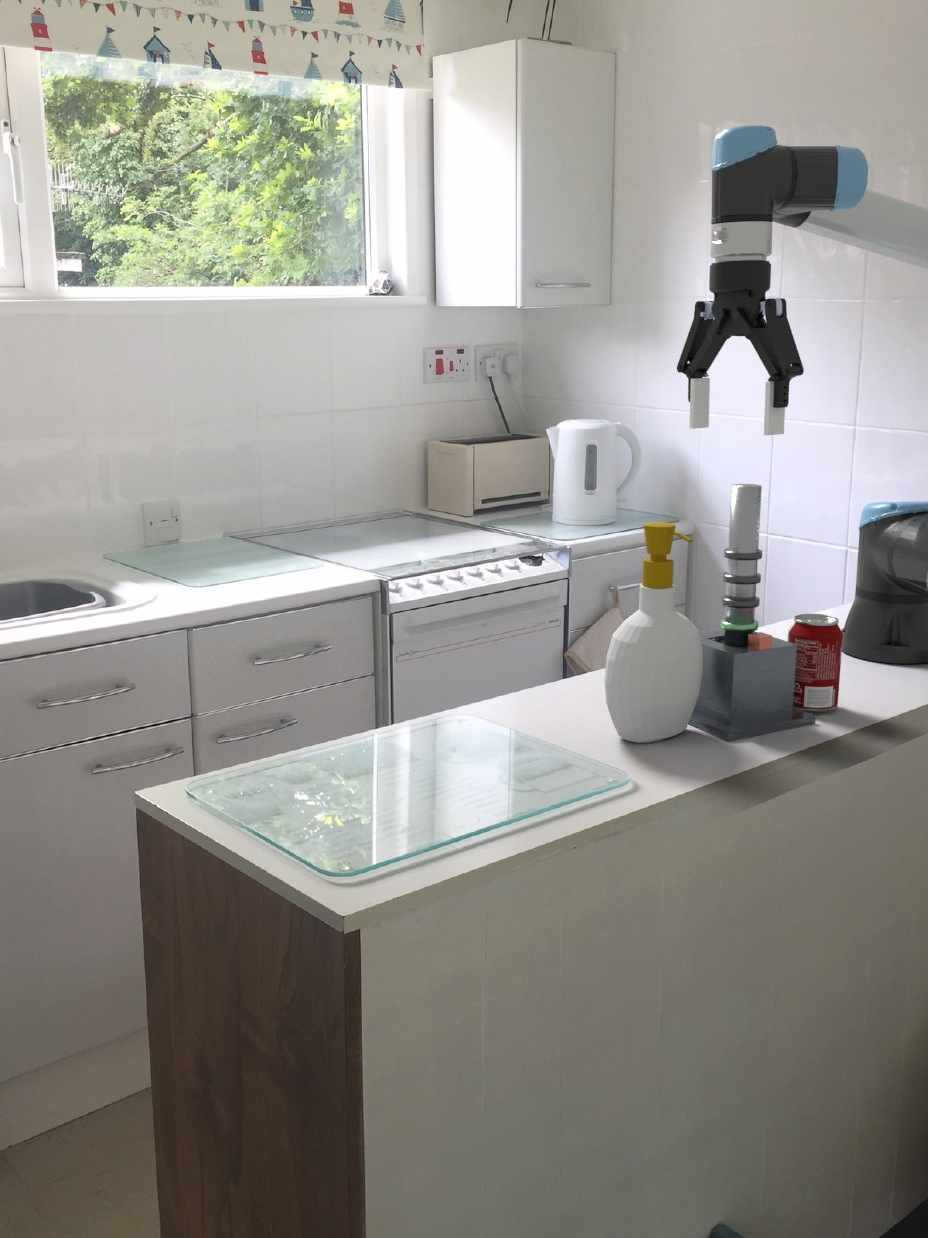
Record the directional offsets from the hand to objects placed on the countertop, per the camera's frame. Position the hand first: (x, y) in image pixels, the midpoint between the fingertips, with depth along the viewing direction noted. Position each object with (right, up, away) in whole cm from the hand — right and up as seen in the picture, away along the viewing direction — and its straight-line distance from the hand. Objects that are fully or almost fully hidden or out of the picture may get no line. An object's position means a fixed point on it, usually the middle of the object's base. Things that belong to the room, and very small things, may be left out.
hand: (735, 431), depth 156 cm
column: (-1, -28, -4) cm, 28 cm away
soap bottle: (-12, -39, -9) cm, 42 cm away
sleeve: (-1, -37, -2) cm, 37 cm away
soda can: (+10, -36, +1) cm, 37 cm away
